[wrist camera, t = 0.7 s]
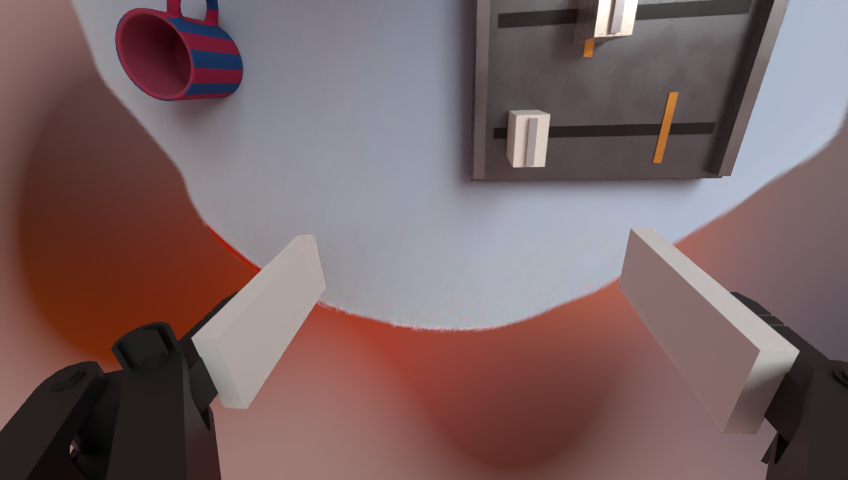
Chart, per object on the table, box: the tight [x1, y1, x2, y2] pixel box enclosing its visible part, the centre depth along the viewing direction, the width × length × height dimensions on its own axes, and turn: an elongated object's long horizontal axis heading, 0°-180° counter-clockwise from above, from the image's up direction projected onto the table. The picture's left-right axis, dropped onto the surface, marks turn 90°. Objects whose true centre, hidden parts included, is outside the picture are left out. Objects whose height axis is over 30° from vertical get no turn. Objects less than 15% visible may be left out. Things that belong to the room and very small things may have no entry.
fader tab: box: [506, 110, 550, 167], centre depth 29 cm, size 4×2×5 cm, turn 2°
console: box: [471, 0, 789, 181], centre depth 28 cm, size 18×23×7 cm
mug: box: [115, 0, 243, 101], centre depth 30 cm, size 7×10×7 cm
